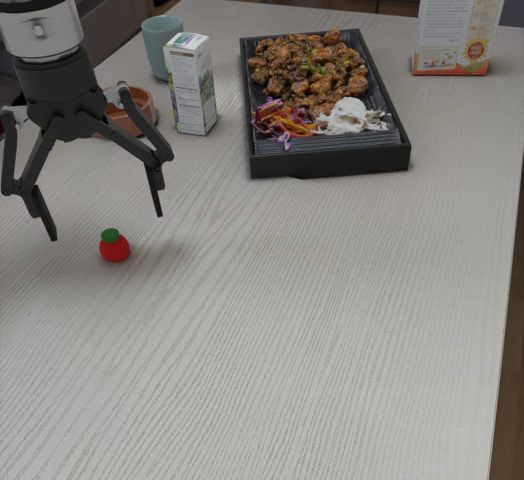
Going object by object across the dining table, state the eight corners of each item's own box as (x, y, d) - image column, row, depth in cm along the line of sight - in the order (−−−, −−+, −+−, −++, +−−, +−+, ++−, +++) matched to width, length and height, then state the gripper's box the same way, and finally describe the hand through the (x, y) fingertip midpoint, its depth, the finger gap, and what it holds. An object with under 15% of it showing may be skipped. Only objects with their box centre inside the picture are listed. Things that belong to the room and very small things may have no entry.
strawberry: (97, 263, 75) (88, 238, 71) (115, 246, 77) (107, 221, 74) (120, 272, 73) (112, 246, 70) (138, 254, 76) (130, 228, 72)
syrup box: (189, 117, 100) (175, 31, 88) (219, 120, 98) (209, 34, 87) (176, 132, 96) (160, 45, 85) (206, 136, 95) (194, 48, 84)
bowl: (75, 135, 97) (67, 110, 94) (117, 104, 104) (111, 80, 101) (129, 149, 93) (123, 124, 90) (169, 116, 100) (165, 92, 97)
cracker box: (482, 63, 108) (514, -67, 91) (485, 76, 104) (520, -56, 88) (410, 62, 109) (429, -65, 93) (410, 75, 106) (431, -55, 89)
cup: (144, 77, 111) (133, 23, 103) (175, 64, 114) (166, 11, 106) (166, 89, 107) (156, 34, 99) (197, 75, 110) (190, 21, 103)
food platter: (407, 170, 85) (418, 106, 77) (251, 183, 85) (246, 120, 77) (357, 51, 114) (362, -5, 106) (240, 60, 114) (236, 5, 106)
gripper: (-88, 87, 50) (8, 263, 66) (177, 39, 53) (207, 217, 70) (-80, 56, 54) (8, 228, 71) (164, 14, 58) (194, 186, 74)
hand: (107, 223), depth 70 cm, fingers open, 13 cm apart
